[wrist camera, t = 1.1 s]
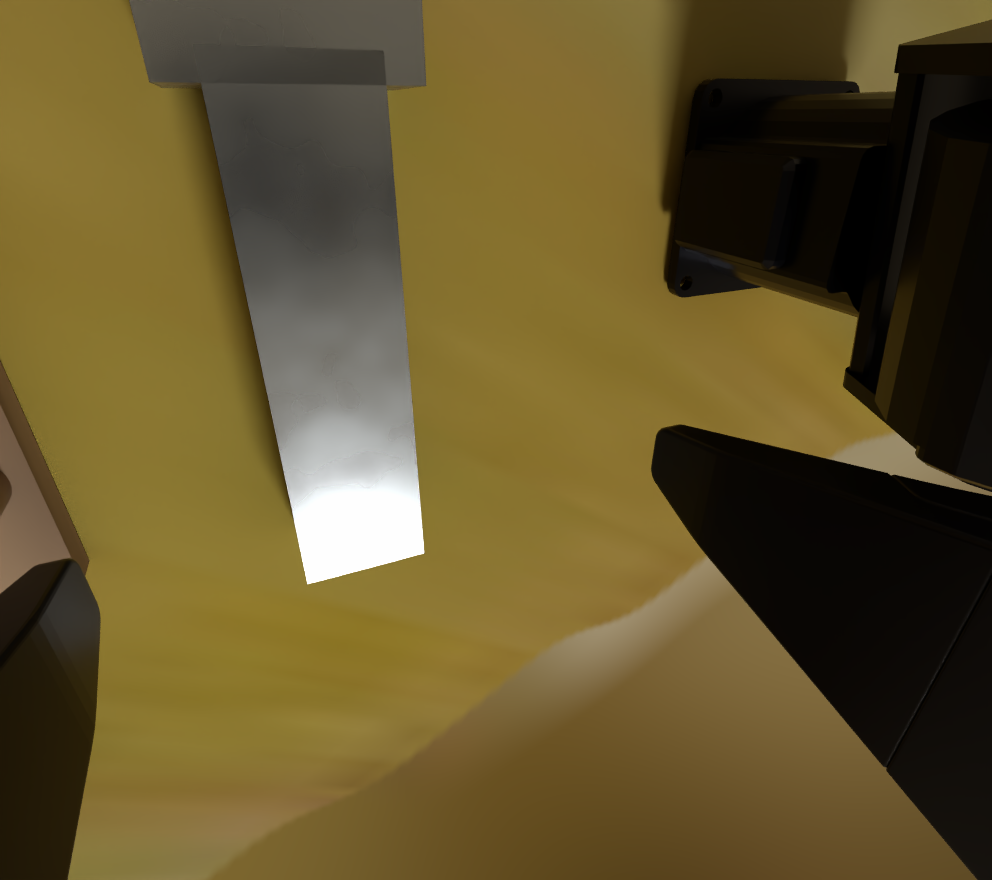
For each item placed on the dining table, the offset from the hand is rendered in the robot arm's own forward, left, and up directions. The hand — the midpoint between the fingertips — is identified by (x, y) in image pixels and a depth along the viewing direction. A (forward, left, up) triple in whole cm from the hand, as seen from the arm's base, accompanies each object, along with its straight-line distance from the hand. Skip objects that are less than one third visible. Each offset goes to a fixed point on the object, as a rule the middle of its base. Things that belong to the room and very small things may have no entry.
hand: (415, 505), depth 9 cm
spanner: (0, -1, -10) cm, 10 cm away
